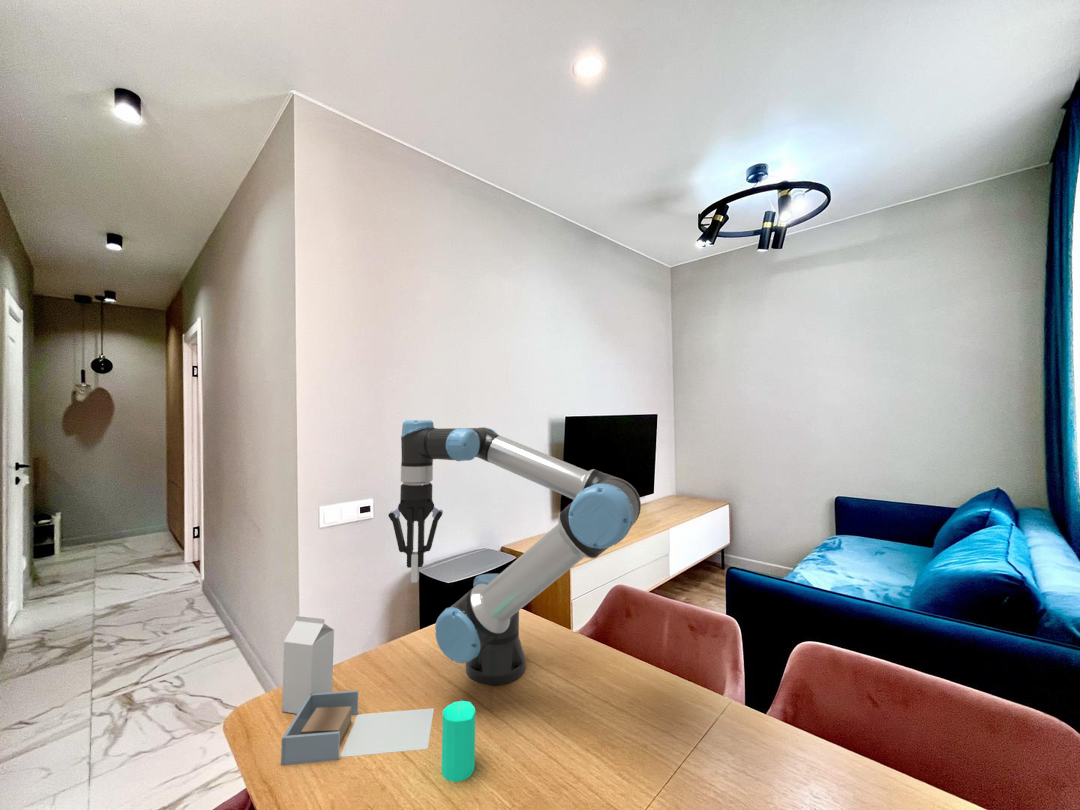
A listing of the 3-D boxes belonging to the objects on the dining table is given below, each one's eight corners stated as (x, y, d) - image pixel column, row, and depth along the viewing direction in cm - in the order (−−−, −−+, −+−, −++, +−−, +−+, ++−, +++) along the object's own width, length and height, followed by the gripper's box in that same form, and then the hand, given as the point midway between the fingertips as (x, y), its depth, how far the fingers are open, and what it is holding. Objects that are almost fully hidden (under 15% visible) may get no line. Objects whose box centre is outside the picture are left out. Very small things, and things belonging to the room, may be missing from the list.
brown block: (351, 726, 90) (351, 706, 91) (337, 751, 84) (338, 730, 84) (316, 727, 90) (316, 707, 90) (300, 753, 83) (300, 731, 83)
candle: (446, 788, 75) (447, 717, 75) (437, 764, 80) (438, 697, 81) (479, 775, 78) (480, 706, 78) (468, 753, 83) (469, 688, 83)
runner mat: (434, 709, 95) (434, 708, 95) (427, 750, 84) (427, 748, 84) (357, 715, 93) (357, 714, 93) (339, 758, 81) (339, 757, 81)
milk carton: (310, 716, 93) (312, 626, 94) (281, 712, 94) (284, 622, 95) (332, 696, 100) (334, 611, 101) (305, 692, 101) (307, 609, 102)
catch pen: (357, 714, 94) (358, 690, 94) (338, 761, 81) (338, 733, 81) (308, 718, 92) (309, 693, 93) (280, 766, 79) (281, 738, 80)
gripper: (445, 480, 112) (443, 574, 111) (392, 481, 110) (390, 576, 109) (442, 484, 104) (441, 585, 103) (385, 485, 102) (383, 587, 101)
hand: (414, 580), depth 106 cm, fingers closed
